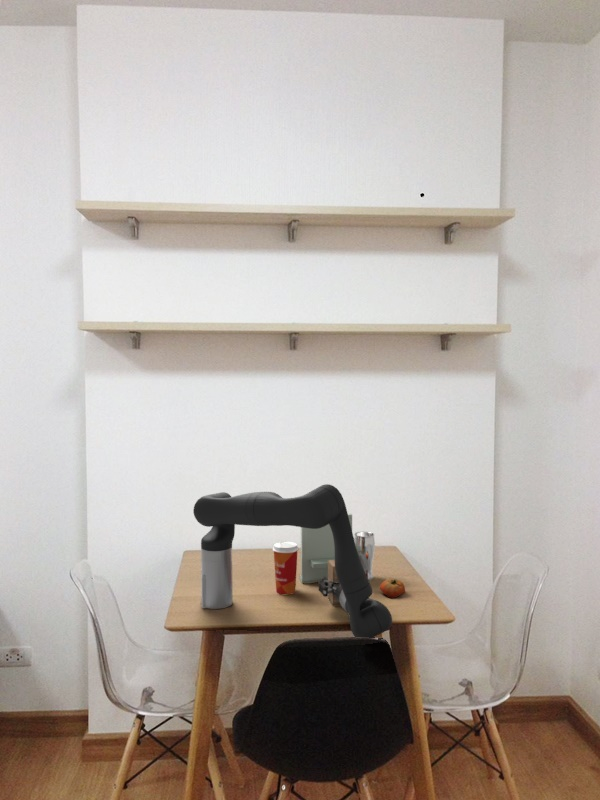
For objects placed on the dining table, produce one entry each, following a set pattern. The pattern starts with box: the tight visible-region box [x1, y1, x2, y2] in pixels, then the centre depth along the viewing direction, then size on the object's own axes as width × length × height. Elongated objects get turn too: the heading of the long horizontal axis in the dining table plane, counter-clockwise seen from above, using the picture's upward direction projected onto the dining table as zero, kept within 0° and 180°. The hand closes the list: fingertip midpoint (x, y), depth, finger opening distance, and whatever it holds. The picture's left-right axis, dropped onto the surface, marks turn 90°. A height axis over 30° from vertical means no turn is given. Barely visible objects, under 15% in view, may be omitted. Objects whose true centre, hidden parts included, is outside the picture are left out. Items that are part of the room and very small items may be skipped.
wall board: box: [298, 512, 353, 584], centre depth 208 cm, size 17×10×22 cm, turn 101°
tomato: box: [379, 578, 406, 599], centre depth 197 cm, size 8×7×7 cm
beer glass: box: [353, 531, 376, 582], centre depth 212 cm, size 7×7×15 cm
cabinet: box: [327, 560, 342, 607], centre depth 190 cm, size 5×7×12 cm
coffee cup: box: [272, 541, 300, 595], centre depth 199 cm, size 8×8×15 cm
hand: (337, 578), depth 191 cm, fingers open, 8 cm apart
